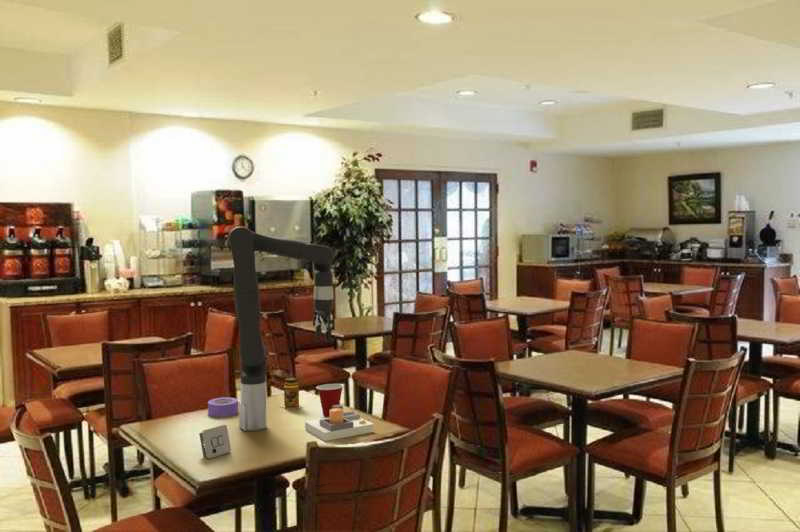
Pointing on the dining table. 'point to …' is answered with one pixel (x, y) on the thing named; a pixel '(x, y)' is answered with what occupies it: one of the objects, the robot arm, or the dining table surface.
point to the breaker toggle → (337, 406)
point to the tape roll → (223, 407)
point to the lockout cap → (336, 416)
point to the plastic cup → (329, 396)
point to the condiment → (291, 394)
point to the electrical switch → (215, 441)
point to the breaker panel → (339, 427)
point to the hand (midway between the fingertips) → (323, 339)
